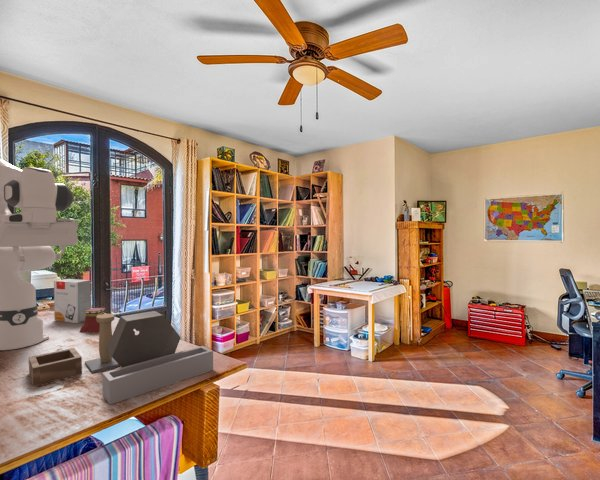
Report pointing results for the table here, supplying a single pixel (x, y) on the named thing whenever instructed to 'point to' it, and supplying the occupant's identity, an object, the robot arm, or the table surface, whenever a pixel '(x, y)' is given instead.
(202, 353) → the tray
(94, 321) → the red drawstring pouch
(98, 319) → the handle
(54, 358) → the block
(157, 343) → the planter
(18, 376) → the table surface
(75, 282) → the hard drive box
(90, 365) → the mat
